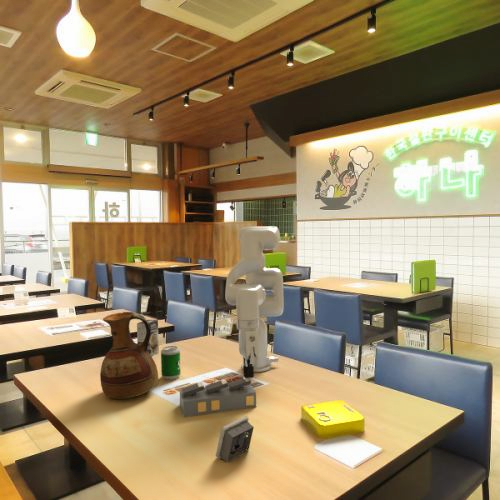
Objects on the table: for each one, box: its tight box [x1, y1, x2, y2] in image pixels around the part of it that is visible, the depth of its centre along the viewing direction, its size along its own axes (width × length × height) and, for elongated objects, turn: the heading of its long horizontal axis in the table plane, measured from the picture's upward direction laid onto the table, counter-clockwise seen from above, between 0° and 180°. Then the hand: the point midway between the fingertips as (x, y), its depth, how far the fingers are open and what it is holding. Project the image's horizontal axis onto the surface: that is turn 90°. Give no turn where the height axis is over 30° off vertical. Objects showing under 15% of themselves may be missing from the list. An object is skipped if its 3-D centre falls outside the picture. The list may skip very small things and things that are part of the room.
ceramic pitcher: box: [99, 311, 159, 400], centre depth 154 cm, size 20×20×30 cm
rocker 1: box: [181, 381, 205, 396], centre depth 140 cm, size 7×4×1 cm, turn 106°
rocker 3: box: [227, 376, 252, 390], centre depth 144 cm, size 7×4×1 cm, turn 106°
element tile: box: [300, 399, 366, 440], centre depth 128 cm, size 15×15×5 cm
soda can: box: [160, 345, 181, 381], centre depth 170 cm, size 8×8×12 cm
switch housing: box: [179, 384, 257, 418], centre depth 142 cm, size 24×10×6 cm, turn 107°
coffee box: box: [136, 319, 160, 357], centre depth 202 cm, size 9×6×16 cm
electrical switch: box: [215, 416, 255, 464], centre depth 111 cm, size 9×5×9 cm, turn 136°
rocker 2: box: [204, 378, 229, 393], centre depth 142 cm, size 7×4×1 cm, turn 106°
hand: (248, 377), depth 145 cm, fingers closed
